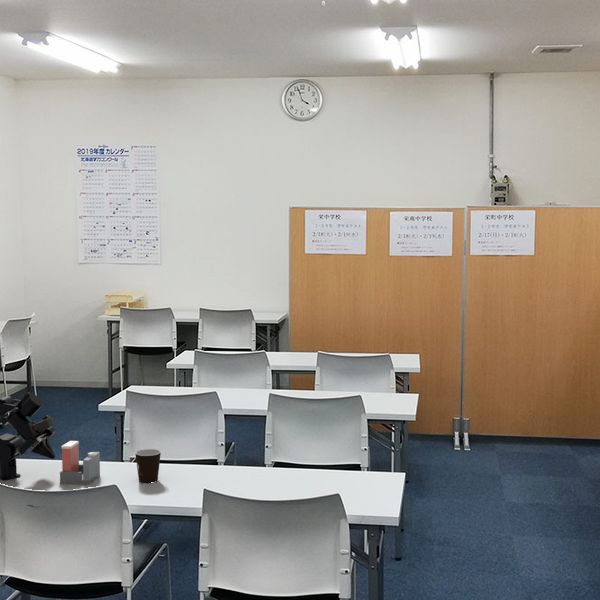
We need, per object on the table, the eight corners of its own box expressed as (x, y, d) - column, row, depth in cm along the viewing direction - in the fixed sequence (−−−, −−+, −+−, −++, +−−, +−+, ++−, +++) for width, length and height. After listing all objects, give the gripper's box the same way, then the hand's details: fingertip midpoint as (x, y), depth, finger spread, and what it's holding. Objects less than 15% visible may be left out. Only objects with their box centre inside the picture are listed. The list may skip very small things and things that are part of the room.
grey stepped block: (59, 483, 261) (59, 456, 260) (71, 474, 270) (71, 448, 270) (89, 484, 259) (89, 457, 259) (100, 475, 269) (100, 449, 269)
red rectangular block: (62, 477, 262) (61, 446, 261) (70, 470, 269) (70, 440, 268) (71, 477, 261) (70, 446, 261) (79, 471, 269) (78, 441, 268)
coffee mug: (158, 484, 260) (157, 455, 259) (132, 484, 260) (132, 455, 259) (164, 474, 271) (164, 446, 271) (140, 474, 272) (140, 446, 271)
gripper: (26, 416, 255) (58, 449, 255) (50, 404, 274) (80, 435, 274) (4, 438, 257) (36, 471, 256) (29, 425, 275) (59, 456, 275)
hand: (54, 458), depth 265 cm, fingers closed
